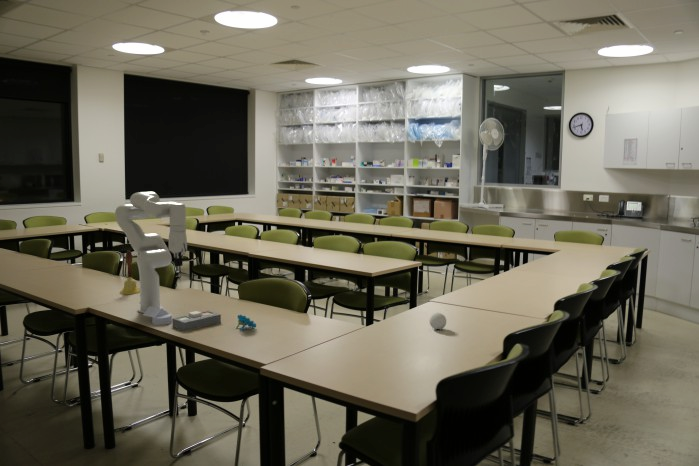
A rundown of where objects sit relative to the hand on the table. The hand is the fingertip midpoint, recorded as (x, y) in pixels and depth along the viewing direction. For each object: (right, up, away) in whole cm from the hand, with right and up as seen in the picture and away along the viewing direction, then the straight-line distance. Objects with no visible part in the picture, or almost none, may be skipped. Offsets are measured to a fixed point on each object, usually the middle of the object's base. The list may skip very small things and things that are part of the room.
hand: (178, 265), depth 267 cm
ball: (+126, -30, -8) cm, 129 cm away
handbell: (-48, -20, +59) cm, 79 cm away
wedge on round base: (-9, -27, -1) cm, 29 cm away
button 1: (+5, -28, -9) cm, 29 cm away
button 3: (+13, -27, +1) cm, 30 cm away
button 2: (+9, -25, -4) cm, 27 cm away
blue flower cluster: (+35, -29, -11) cm, 47 cm away
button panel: (+10, -28, -5) cm, 30 cm away
